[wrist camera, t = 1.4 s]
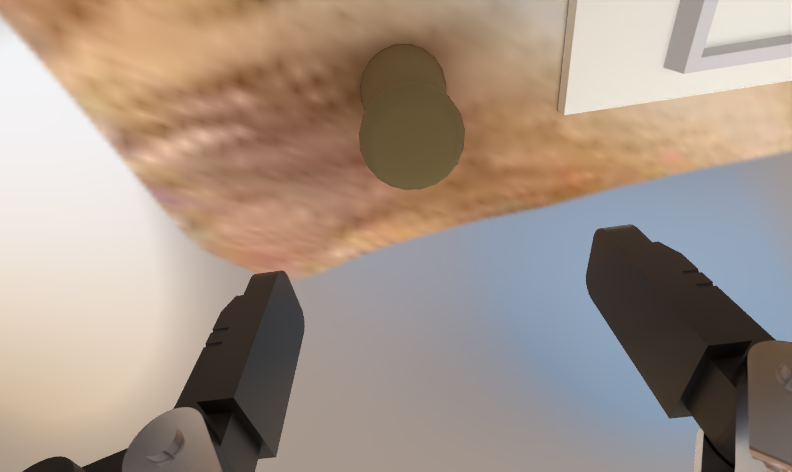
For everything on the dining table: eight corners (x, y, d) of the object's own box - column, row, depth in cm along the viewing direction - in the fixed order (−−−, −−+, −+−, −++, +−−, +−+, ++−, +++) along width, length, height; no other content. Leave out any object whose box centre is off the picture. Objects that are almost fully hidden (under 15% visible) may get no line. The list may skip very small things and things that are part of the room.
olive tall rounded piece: (462, 68, 25) (506, 118, 16) (421, 146, 28) (440, 224, 19) (381, 26, 24) (379, 55, 15) (347, 113, 27) (329, 181, 18)
